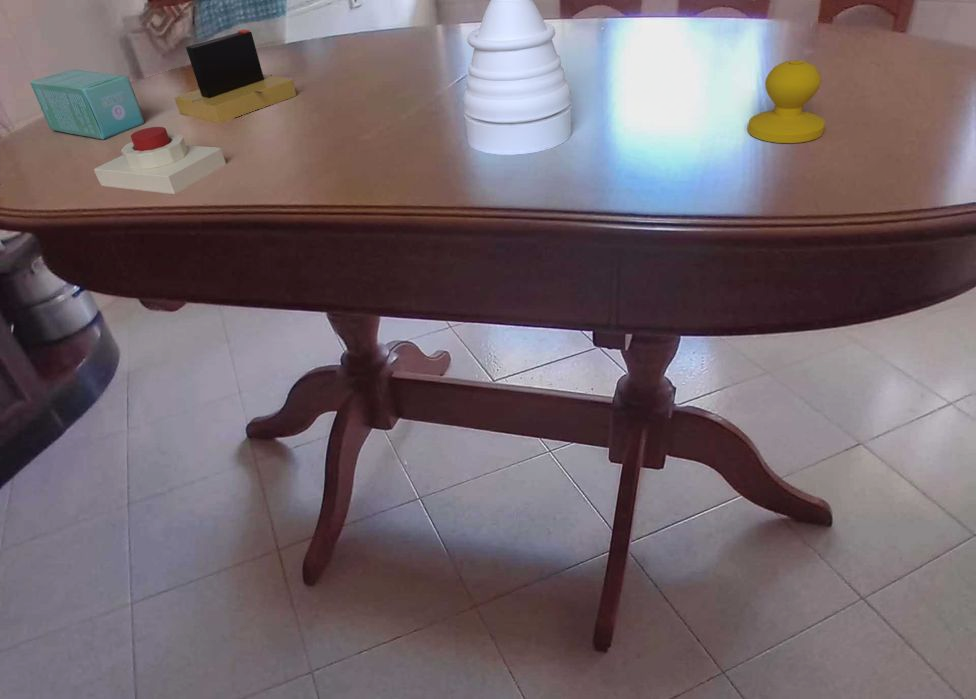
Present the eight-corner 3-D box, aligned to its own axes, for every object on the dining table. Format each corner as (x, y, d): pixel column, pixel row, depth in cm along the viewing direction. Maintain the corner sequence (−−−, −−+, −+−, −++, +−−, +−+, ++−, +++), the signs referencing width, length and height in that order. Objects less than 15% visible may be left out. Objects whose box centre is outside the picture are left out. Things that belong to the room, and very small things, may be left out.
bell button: (128, 151, 83) (122, 137, 82) (153, 139, 86) (148, 125, 85) (153, 154, 82) (148, 139, 81) (178, 141, 85) (172, 127, 84)
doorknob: (786, 149, 75) (732, 130, 81) (839, 131, 78) (783, 114, 83) (798, 77, 70) (740, 62, 76) (854, 61, 73) (793, 48, 79)
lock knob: (208, 98, 103) (192, 46, 99) (201, 96, 104) (184, 45, 100) (264, 79, 109) (251, 29, 105) (256, 78, 110) (243, 29, 106)
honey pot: (476, 119, 92) (461, -35, 82) (574, 115, 90) (572, -44, 79) (457, 156, 82) (437, -14, 71) (568, 153, 80) (563, -24, 69)
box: (104, 141, 99) (81, 87, 95) (50, 132, 106) (26, 81, 101) (147, 124, 104) (128, 72, 100) (93, 117, 111) (72, 67, 106)
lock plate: (225, 125, 100) (219, 106, 99) (173, 112, 108) (167, 95, 107) (303, 96, 109) (299, 79, 107) (250, 86, 116) (245, 70, 115)
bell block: (100, 186, 85) (86, 154, 83) (155, 158, 91) (143, 128, 89) (174, 194, 80) (162, 161, 78) (226, 164, 87) (216, 133, 85)
